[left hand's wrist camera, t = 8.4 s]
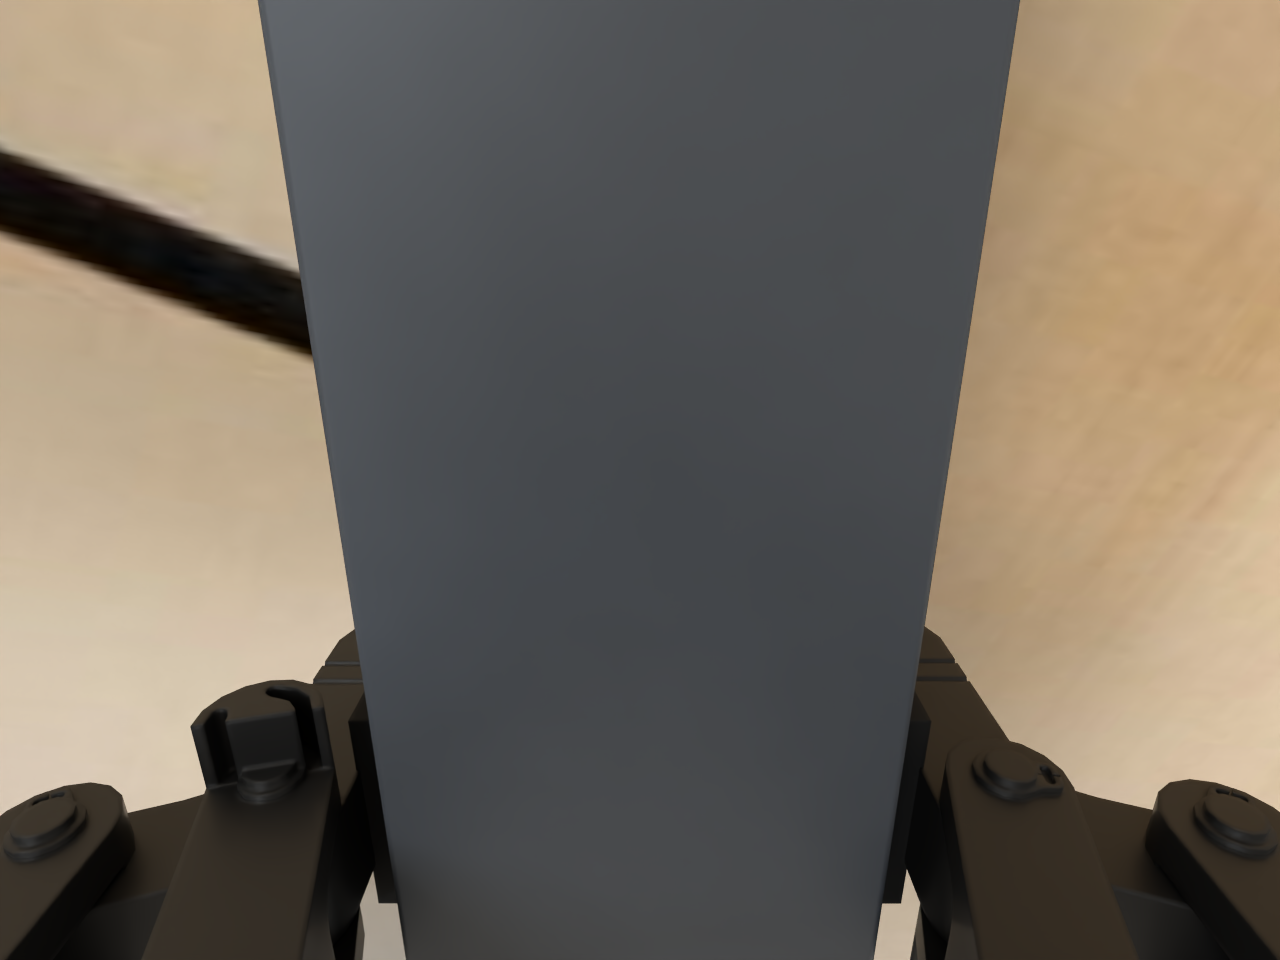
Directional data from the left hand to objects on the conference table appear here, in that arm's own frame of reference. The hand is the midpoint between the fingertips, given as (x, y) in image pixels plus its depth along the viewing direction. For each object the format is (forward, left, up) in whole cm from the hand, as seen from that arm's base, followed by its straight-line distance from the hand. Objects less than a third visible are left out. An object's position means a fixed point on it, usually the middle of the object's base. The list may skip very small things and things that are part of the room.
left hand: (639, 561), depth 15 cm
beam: (+18, +30, -1) cm, 35 cm away
